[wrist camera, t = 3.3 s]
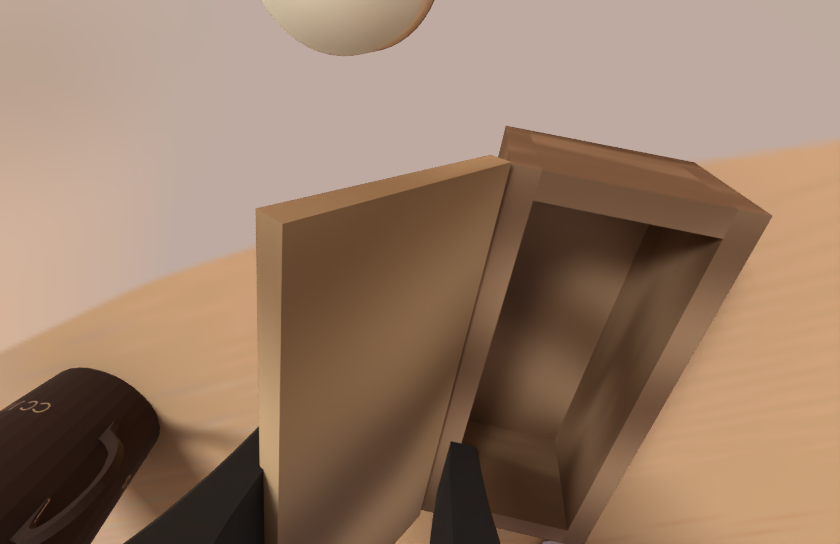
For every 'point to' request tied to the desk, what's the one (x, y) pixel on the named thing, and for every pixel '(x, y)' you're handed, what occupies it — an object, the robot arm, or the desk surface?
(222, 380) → the desk surface
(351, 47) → the cream domed disc
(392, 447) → the lid
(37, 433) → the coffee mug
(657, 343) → the walnut box
